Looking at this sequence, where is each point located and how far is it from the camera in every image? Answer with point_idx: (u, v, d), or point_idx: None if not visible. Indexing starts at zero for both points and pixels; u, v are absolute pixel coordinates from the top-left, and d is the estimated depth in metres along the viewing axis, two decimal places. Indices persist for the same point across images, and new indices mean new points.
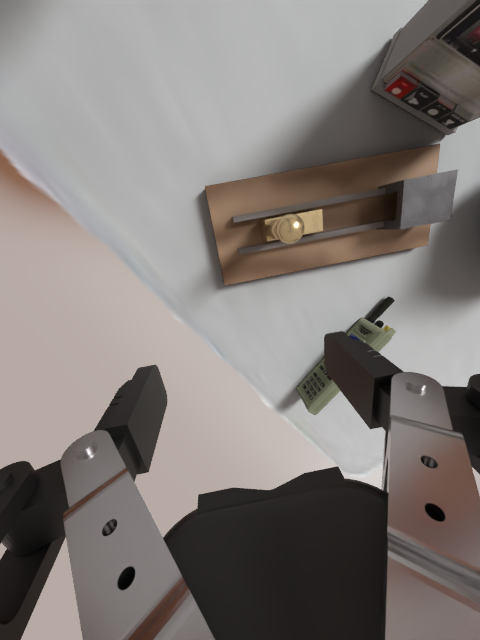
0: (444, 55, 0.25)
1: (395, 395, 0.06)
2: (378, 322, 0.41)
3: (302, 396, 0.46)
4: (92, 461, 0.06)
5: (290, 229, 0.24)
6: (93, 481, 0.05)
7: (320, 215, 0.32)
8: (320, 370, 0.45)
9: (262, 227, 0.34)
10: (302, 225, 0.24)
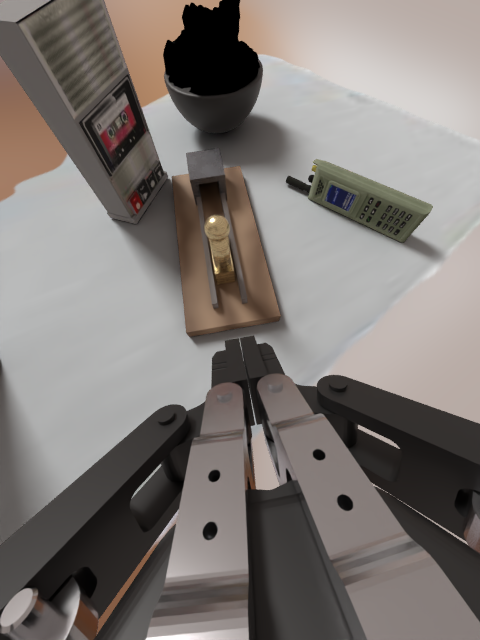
0: (121, 173, 0.39)
1: (266, 402, 0.07)
2: (310, 179, 0.43)
3: (410, 229, 0.38)
4: (224, 408, 0.07)
5: (215, 221, 0.26)
6: (219, 425, 0.06)
7: None
8: (371, 219, 0.41)
9: (222, 280, 0.36)
10: (213, 215, 0.27)
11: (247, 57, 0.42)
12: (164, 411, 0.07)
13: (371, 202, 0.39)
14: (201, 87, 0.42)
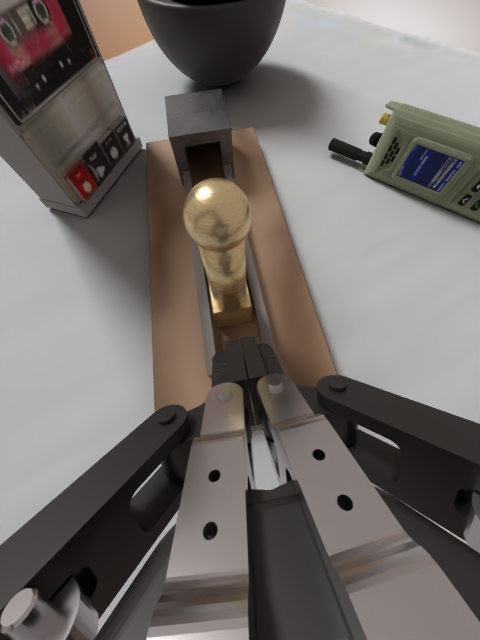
0: (45, 124, 0.22)
1: (266, 402, 0.07)
2: (373, 139, 0.26)
3: None
4: (224, 408, 0.07)
5: (214, 195, 0.09)
6: (220, 425, 0.06)
7: None
8: None
9: (228, 322, 0.19)
10: None
11: None
12: (164, 411, 0.07)
13: None
14: None
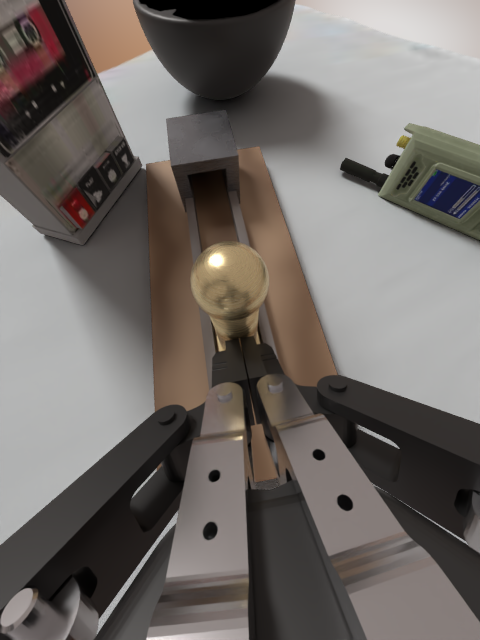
0: (37, 153, 0.20)
1: (266, 402, 0.07)
2: (389, 162, 0.25)
3: None
4: (224, 408, 0.07)
5: (229, 268, 0.07)
6: (220, 425, 0.06)
7: None
8: None
9: None
10: (218, 243, 0.08)
11: None
12: (164, 411, 0.07)
13: None
14: (193, 2, 0.24)
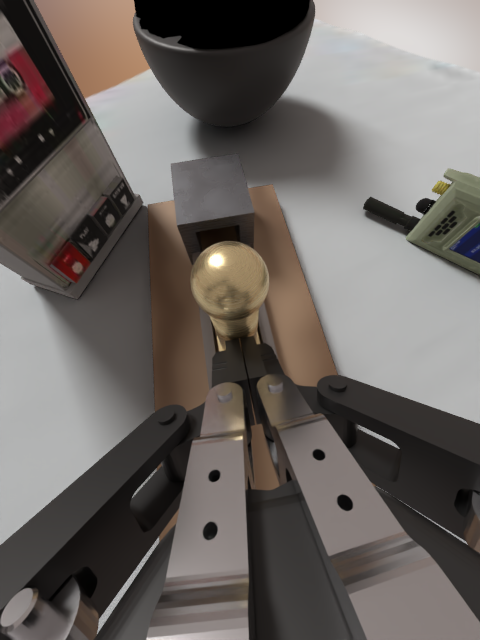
0: (22, 212, 0.17)
1: (266, 402, 0.07)
2: (422, 207, 0.22)
3: None
4: (224, 408, 0.07)
5: (229, 268, 0.07)
6: (220, 425, 0.06)
7: None
8: None
9: None
10: (218, 243, 0.08)
11: None
12: (164, 411, 0.07)
13: None
14: (201, 30, 0.21)
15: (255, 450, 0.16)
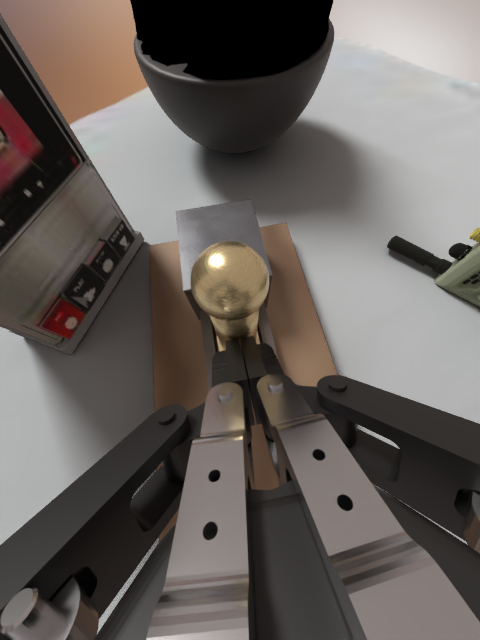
0: (5, 276, 0.15)
1: (266, 402, 0.07)
2: (456, 253, 0.20)
3: None
4: (224, 408, 0.07)
5: (229, 268, 0.07)
6: (220, 425, 0.06)
7: None
8: None
9: None
10: (218, 243, 0.08)
11: None
12: (164, 411, 0.07)
13: None
14: (210, 60, 0.19)
15: None
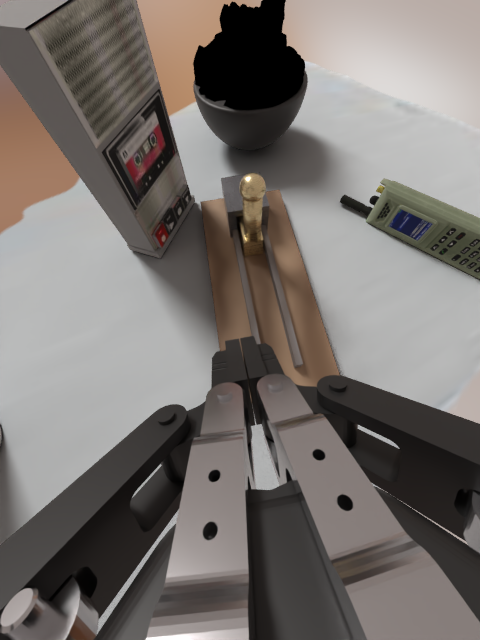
0: (146, 204, 0.33)
1: (266, 402, 0.07)
2: (372, 200, 0.37)
3: None
4: (224, 408, 0.07)
5: (253, 178, 0.25)
6: (220, 425, 0.06)
7: None
8: (447, 252, 0.35)
9: (250, 251, 0.35)
10: (249, 173, 0.26)
11: (294, 65, 0.35)
12: (164, 411, 0.07)
13: (451, 233, 0.33)
14: (239, 100, 0.36)
15: (268, 328, 0.31)
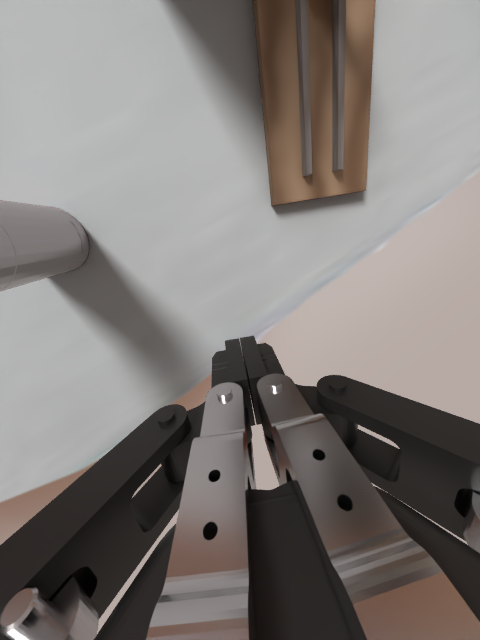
0: None
1: (266, 402, 0.07)
2: None
3: None
4: (224, 408, 0.07)
5: None
6: (220, 425, 0.06)
7: None
8: None
9: None
10: None
11: None
12: (164, 411, 0.07)
13: None
14: None
15: (317, 125, 0.31)
